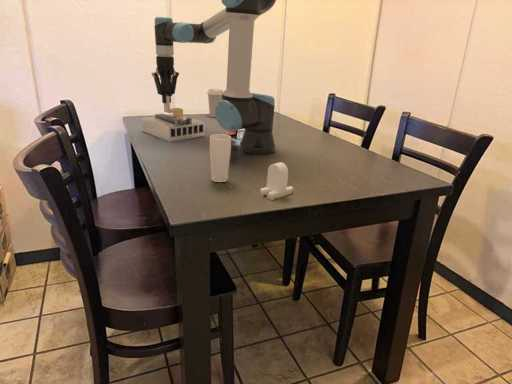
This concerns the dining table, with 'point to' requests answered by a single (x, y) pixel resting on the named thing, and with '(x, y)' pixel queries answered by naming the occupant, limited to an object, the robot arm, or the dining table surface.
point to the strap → (171, 118)
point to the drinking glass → (220, 156)
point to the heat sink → (173, 128)
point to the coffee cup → (214, 100)
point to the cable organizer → (277, 180)
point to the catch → (175, 111)
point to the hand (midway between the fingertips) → (167, 110)
